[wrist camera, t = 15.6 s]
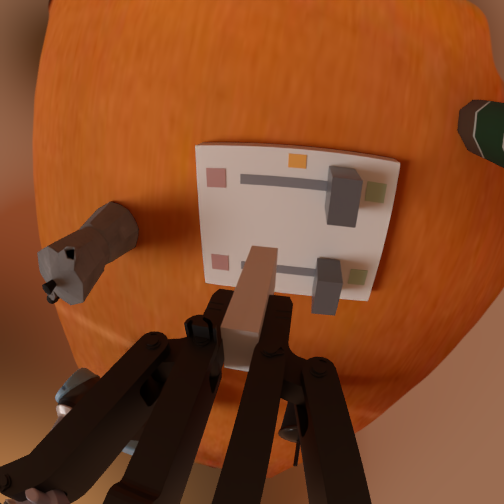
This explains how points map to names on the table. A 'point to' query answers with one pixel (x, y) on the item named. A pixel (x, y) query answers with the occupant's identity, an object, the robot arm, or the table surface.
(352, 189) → the lever
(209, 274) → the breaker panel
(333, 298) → the on lever
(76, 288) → the coffeepot
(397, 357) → the table surface
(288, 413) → the drinking cup
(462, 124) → the beer bottle
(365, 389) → the table surface
